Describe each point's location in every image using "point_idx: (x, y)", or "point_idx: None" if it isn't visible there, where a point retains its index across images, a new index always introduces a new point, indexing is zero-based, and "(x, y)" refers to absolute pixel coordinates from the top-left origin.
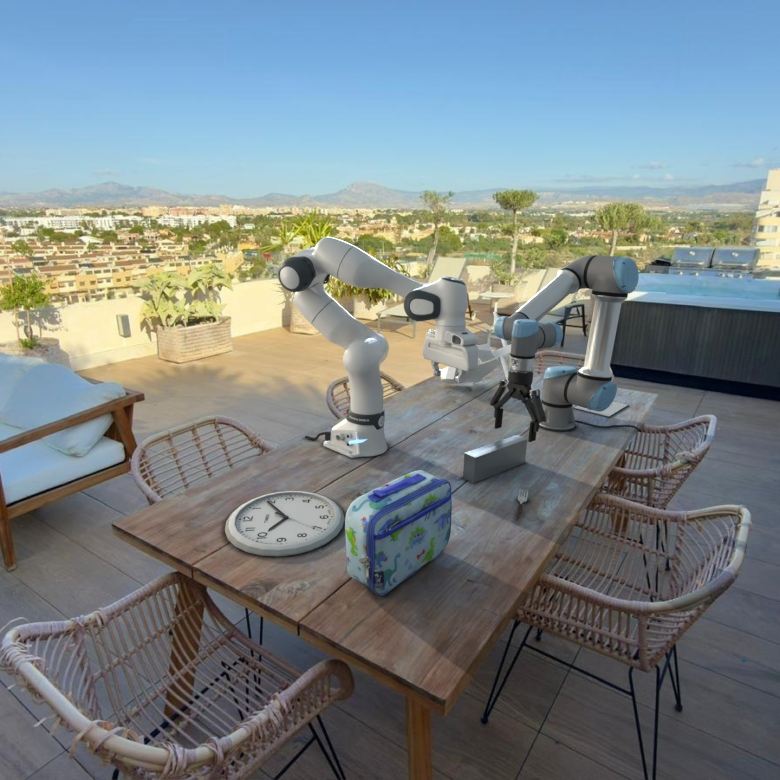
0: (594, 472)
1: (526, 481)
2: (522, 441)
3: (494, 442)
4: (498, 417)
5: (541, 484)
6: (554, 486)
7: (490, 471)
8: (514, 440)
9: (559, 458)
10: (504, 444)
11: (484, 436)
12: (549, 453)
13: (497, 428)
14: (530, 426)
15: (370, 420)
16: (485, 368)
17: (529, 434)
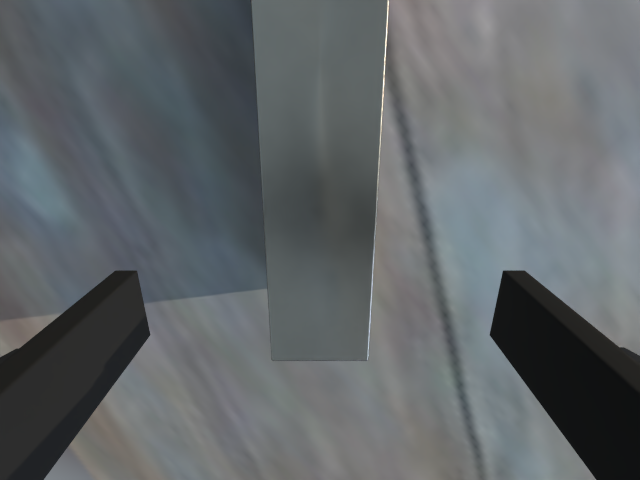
0: None
1: (131, 115)
2: (270, 310)
3: (381, 102)
4: (572, 361)
5: (72, 152)
6: (30, 186)
7: None
8: (305, 271)
9: (232, 414)
10: (297, 142)
11: None
12: (288, 421)
13: (500, 287)
14: (13, 373)
15: None
16: None
17: (89, 308)
